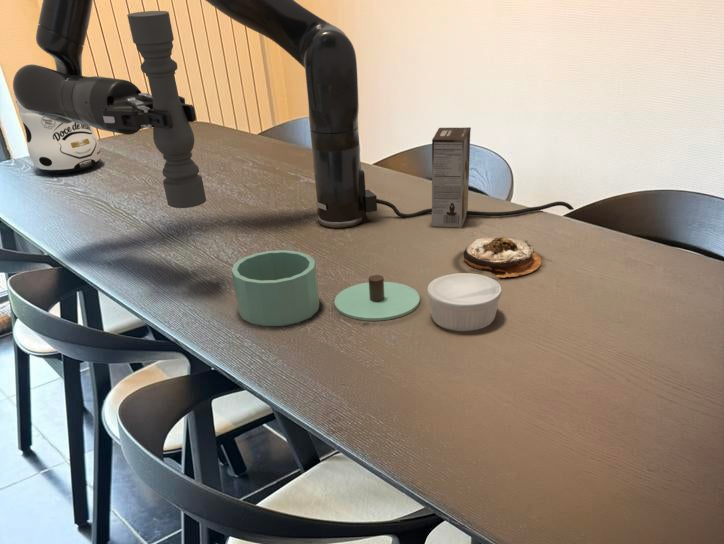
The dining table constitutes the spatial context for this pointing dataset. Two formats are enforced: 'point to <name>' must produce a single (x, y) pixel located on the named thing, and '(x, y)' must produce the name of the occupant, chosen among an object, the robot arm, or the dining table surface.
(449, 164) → the coffee box
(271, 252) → the pot
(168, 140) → the candle holder
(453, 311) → the ramekin
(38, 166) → the doce de leite jar
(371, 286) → the pot lid
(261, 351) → the dining table surface
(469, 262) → the cream topped cake
